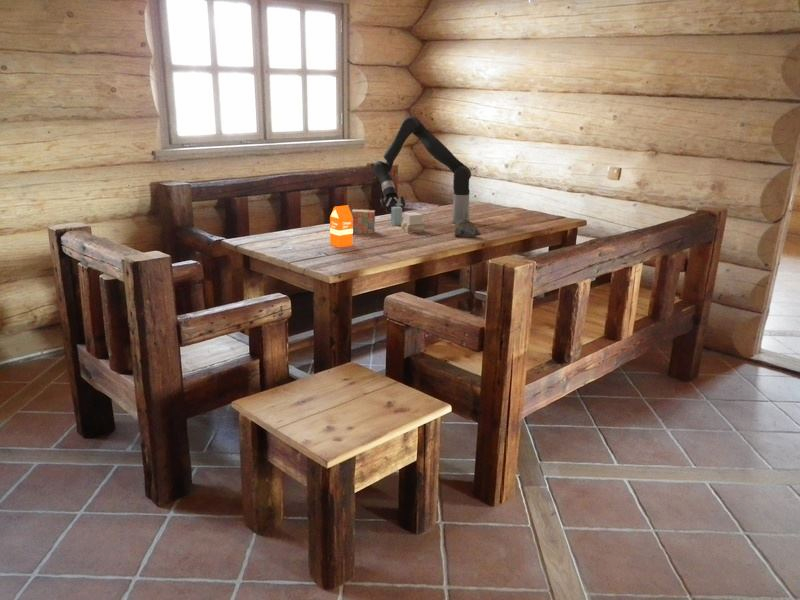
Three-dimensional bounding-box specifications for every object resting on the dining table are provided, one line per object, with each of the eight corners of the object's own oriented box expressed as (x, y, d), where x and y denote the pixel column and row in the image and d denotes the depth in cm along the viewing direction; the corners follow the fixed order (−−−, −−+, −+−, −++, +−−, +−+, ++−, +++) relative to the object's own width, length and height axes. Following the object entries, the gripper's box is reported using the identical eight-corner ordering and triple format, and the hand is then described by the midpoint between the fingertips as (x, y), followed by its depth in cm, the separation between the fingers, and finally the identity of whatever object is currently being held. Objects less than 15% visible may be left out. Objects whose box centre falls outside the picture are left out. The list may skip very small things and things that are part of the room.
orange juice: (353, 244, 349) (353, 206, 343) (339, 247, 343) (338, 207, 337) (343, 242, 355) (343, 203, 348) (329, 244, 349) (329, 205, 343)
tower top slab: (403, 221, 385) (403, 213, 383) (416, 220, 388) (416, 212, 387) (409, 224, 378) (409, 215, 376) (422, 223, 381) (422, 214, 380)
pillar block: (390, 223, 402) (391, 206, 399) (398, 223, 404) (398, 206, 401) (393, 225, 397) (394, 208, 394) (401, 224, 399) (402, 208, 396)
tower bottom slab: (401, 230, 387) (401, 221, 386) (417, 229, 391) (417, 220, 389) (408, 233, 379) (408, 224, 377) (424, 232, 382) (424, 223, 381)
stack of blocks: (334, 232, 376) (334, 210, 372) (336, 230, 382) (336, 208, 378) (373, 234, 375) (373, 212, 371) (374, 231, 380) (375, 209, 377)
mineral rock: (481, 238, 370) (482, 219, 367) (467, 240, 364) (468, 222, 361) (465, 233, 380) (466, 216, 377) (451, 236, 373) (451, 218, 370)
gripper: (379, 186, 400) (386, 209, 394) (401, 185, 406) (408, 208, 399) (376, 194, 407) (382, 216, 400) (398, 193, 412) (405, 215, 405)
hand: (395, 212), depth 400 cm, fingers open, 8 cm apart
